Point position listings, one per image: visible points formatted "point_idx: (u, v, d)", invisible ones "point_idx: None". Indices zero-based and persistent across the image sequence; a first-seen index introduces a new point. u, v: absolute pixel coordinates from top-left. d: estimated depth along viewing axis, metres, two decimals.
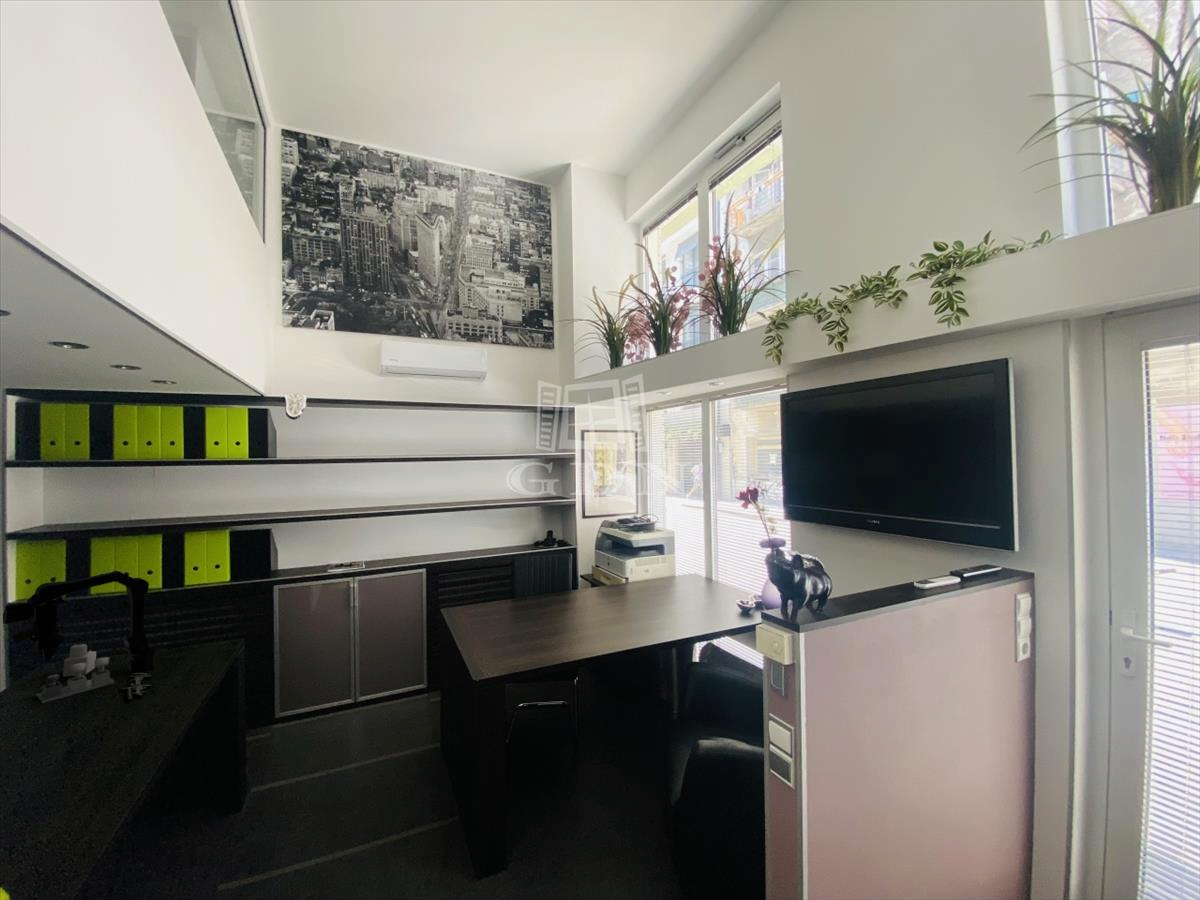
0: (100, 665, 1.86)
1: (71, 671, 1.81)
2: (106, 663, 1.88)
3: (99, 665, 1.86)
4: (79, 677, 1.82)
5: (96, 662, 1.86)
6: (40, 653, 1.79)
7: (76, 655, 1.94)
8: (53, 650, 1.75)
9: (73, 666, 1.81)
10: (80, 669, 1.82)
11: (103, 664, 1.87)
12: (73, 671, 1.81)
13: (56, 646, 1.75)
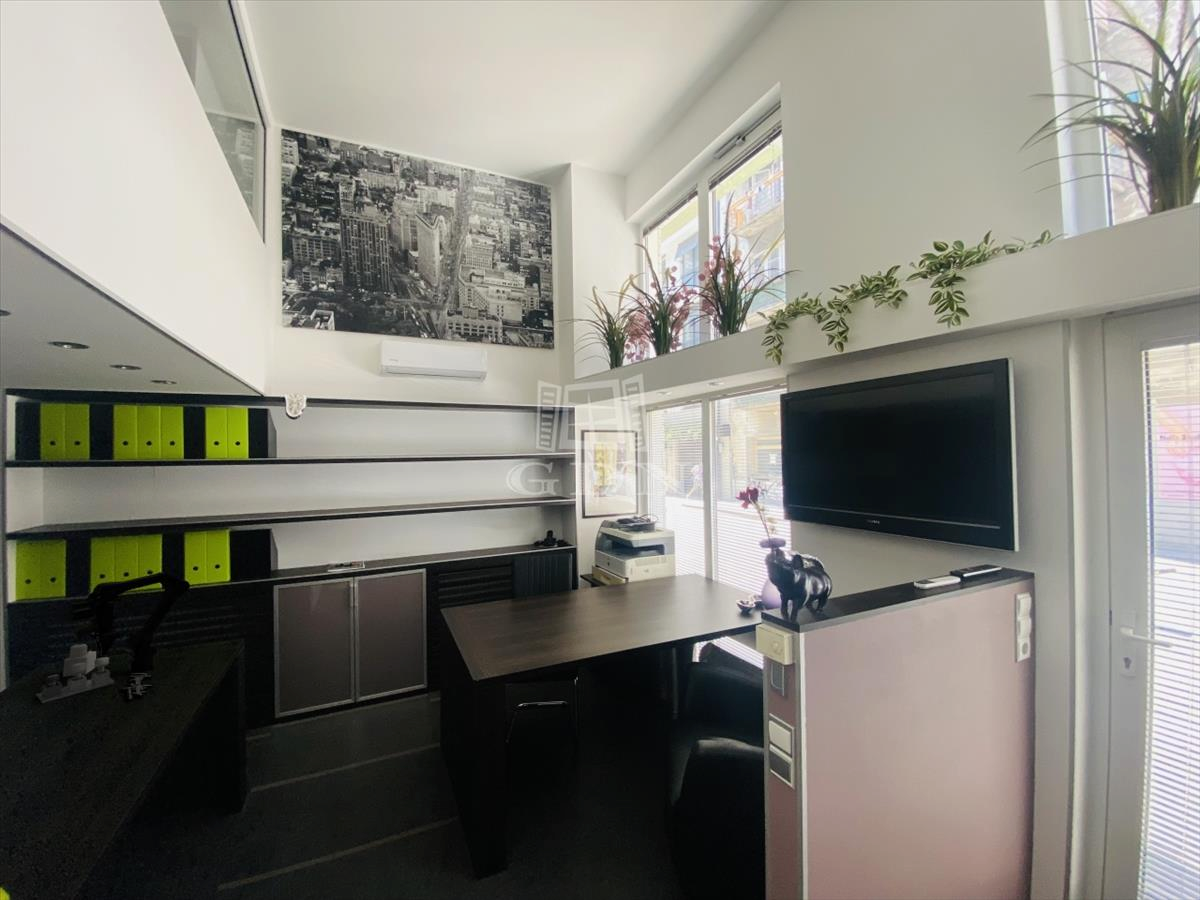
0: (100, 665, 1.86)
1: (71, 671, 1.81)
2: (106, 663, 1.88)
3: (99, 665, 1.86)
4: (79, 677, 1.82)
5: (96, 662, 1.86)
6: (99, 650, 1.89)
7: (76, 655, 1.94)
8: (109, 644, 1.87)
9: (73, 666, 1.81)
10: (80, 669, 1.82)
11: (103, 664, 1.87)
12: (73, 671, 1.81)
13: (112, 641, 1.88)
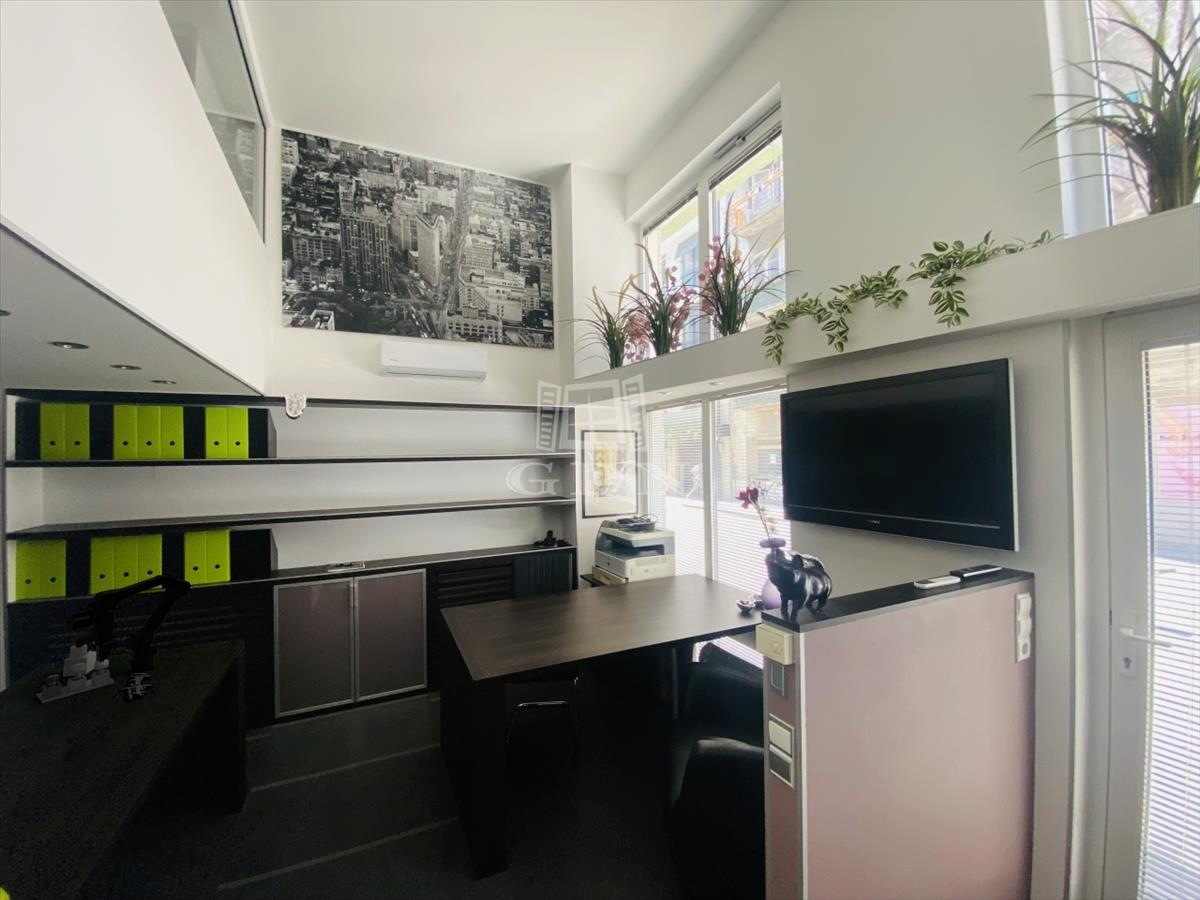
0: (100, 667, 1.86)
1: (71, 671, 1.81)
2: (106, 665, 1.88)
3: (99, 667, 1.86)
4: (79, 677, 1.82)
5: (96, 664, 1.86)
6: None
7: (76, 655, 1.94)
8: (107, 652, 1.89)
9: (73, 666, 1.81)
10: (80, 669, 1.82)
11: (103, 666, 1.87)
12: (73, 671, 1.81)
13: None
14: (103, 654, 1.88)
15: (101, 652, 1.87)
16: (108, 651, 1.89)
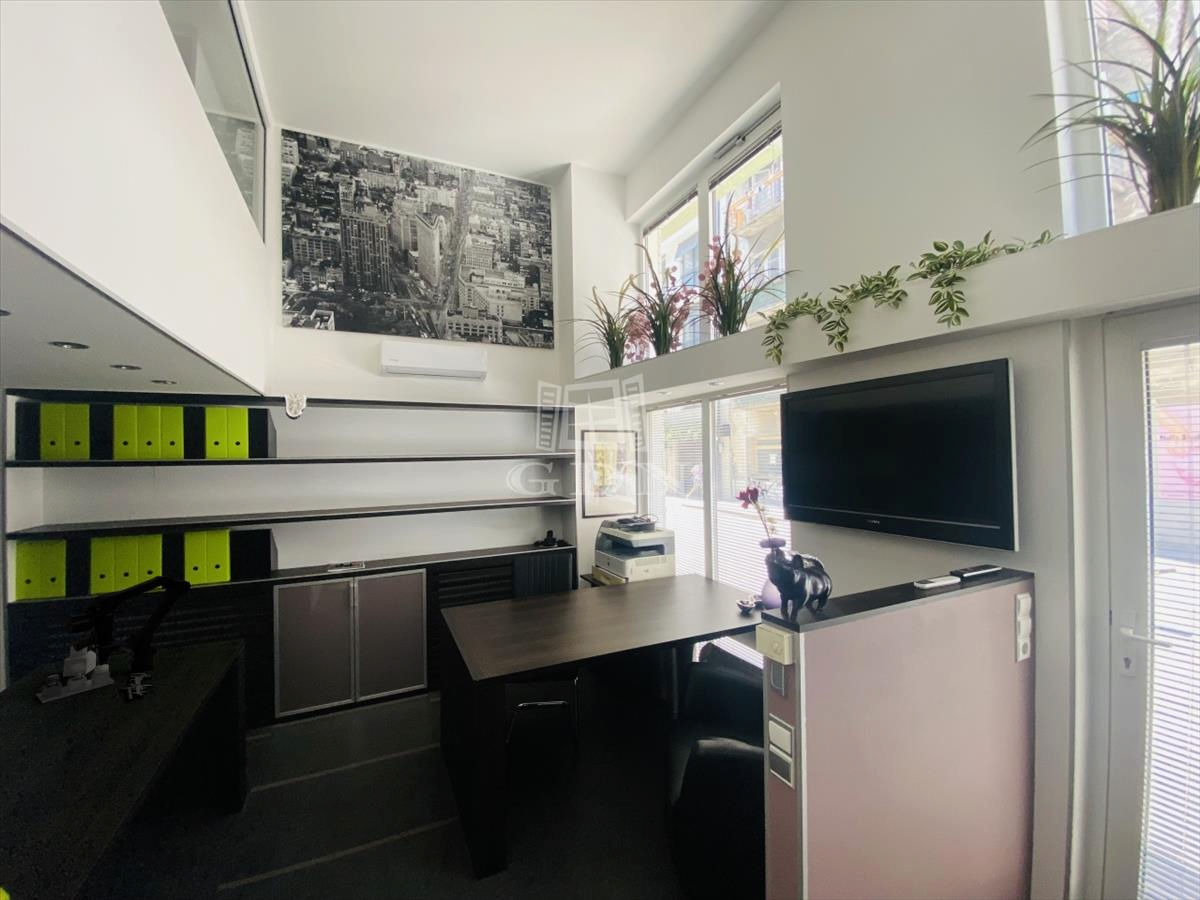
0: (100, 672, 1.86)
1: (71, 671, 1.81)
2: (106, 670, 1.88)
3: (99, 672, 1.86)
4: (79, 677, 1.82)
5: (96, 669, 1.86)
6: None
7: (76, 655, 1.94)
8: (107, 655, 1.88)
9: (73, 666, 1.81)
10: (80, 669, 1.82)
11: (103, 671, 1.87)
12: (73, 671, 1.81)
13: (110, 651, 1.89)
14: (102, 657, 1.87)
15: (101, 655, 1.87)
16: (108, 654, 1.89)
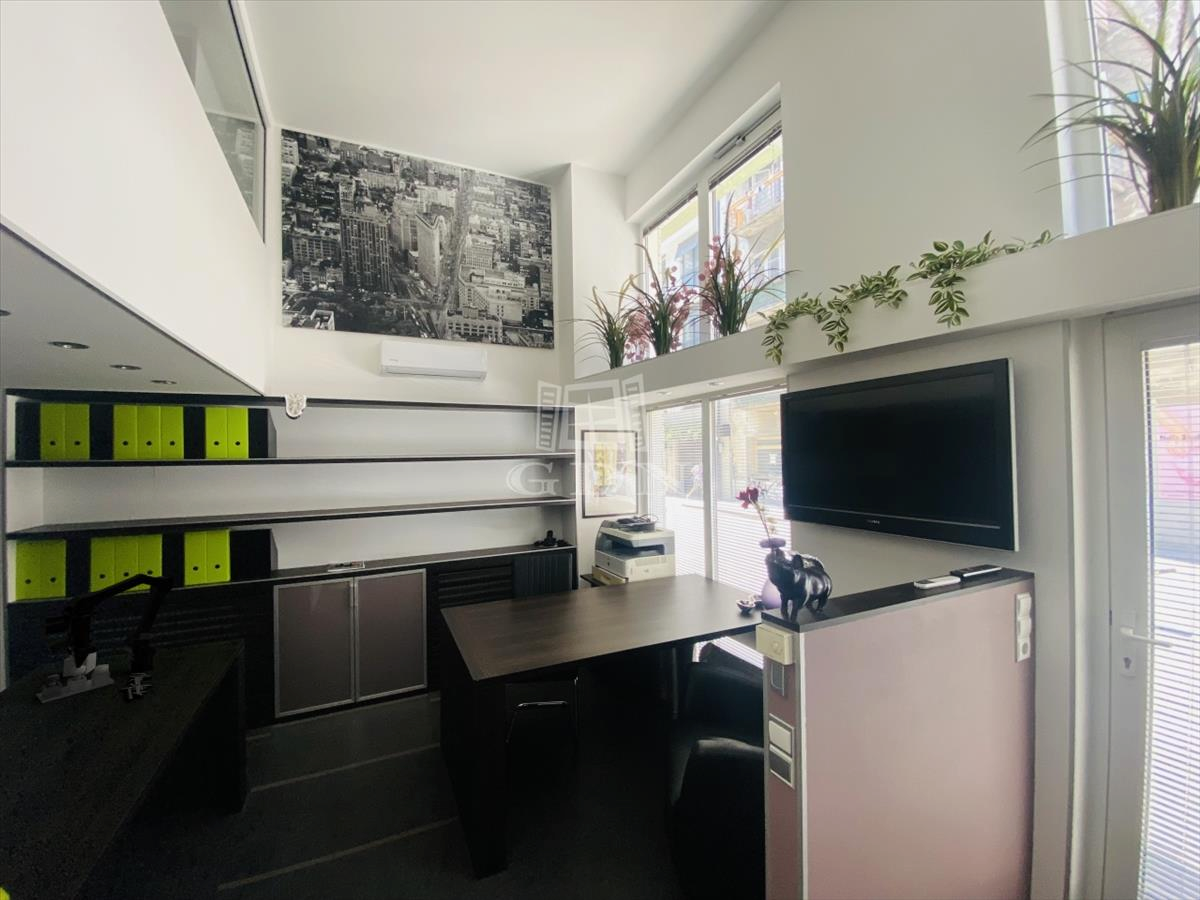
0: (100, 672, 1.86)
1: (71, 674, 1.81)
2: (106, 670, 1.88)
3: (99, 672, 1.86)
4: None
5: (96, 669, 1.86)
6: None
7: None
8: (84, 657, 1.83)
9: (73, 669, 1.81)
10: (80, 672, 1.82)
11: (103, 671, 1.87)
12: (73, 674, 1.80)
13: (87, 653, 1.83)
14: (79, 660, 1.82)
15: (77, 658, 1.81)
16: (85, 657, 1.83)
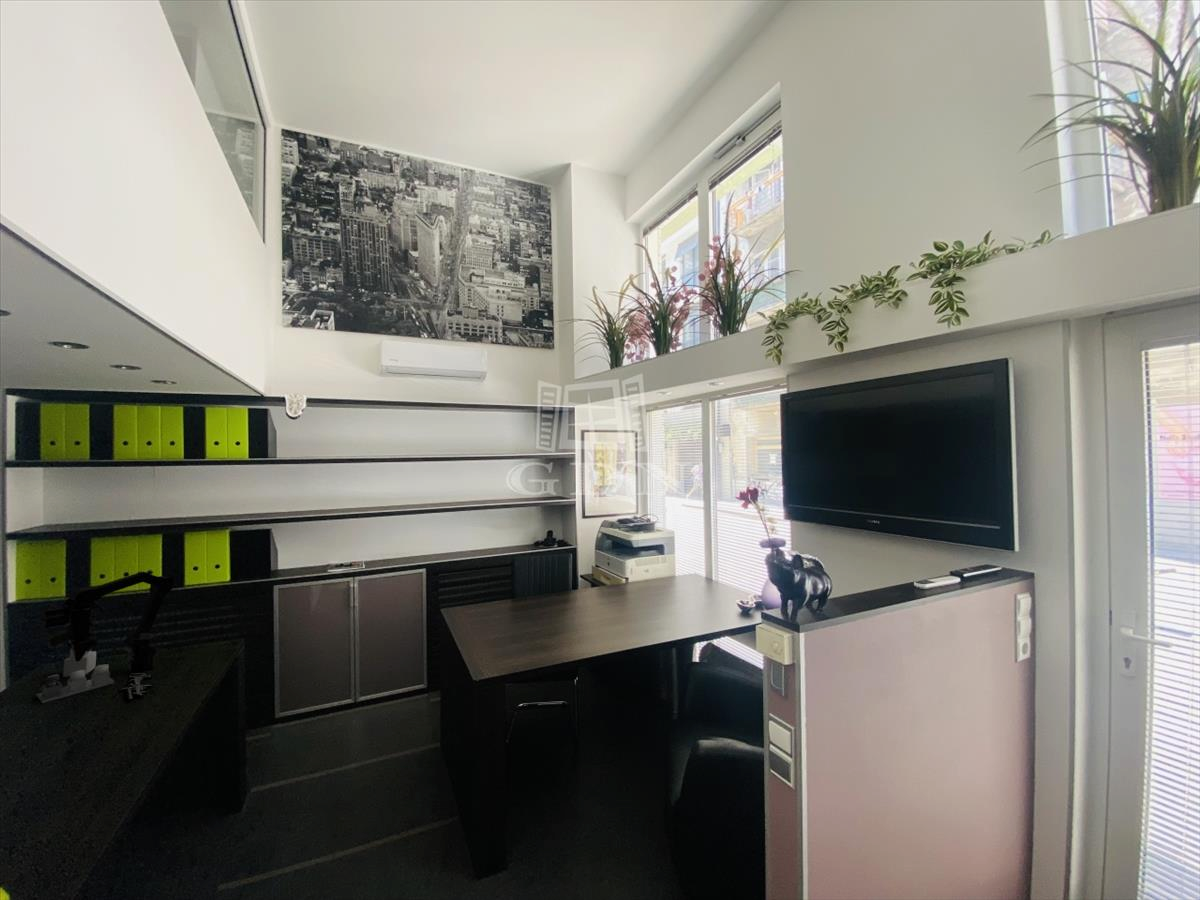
0: (100, 672, 1.86)
1: (71, 679, 1.80)
2: (106, 670, 1.88)
3: (99, 672, 1.86)
4: None
5: (96, 669, 1.86)
6: None
7: None
8: (84, 651, 1.83)
9: (73, 674, 1.81)
10: (80, 677, 1.82)
11: (103, 671, 1.87)
12: (72, 679, 1.80)
13: None
14: (79, 653, 1.82)
15: (77, 651, 1.81)
16: (84, 650, 1.83)
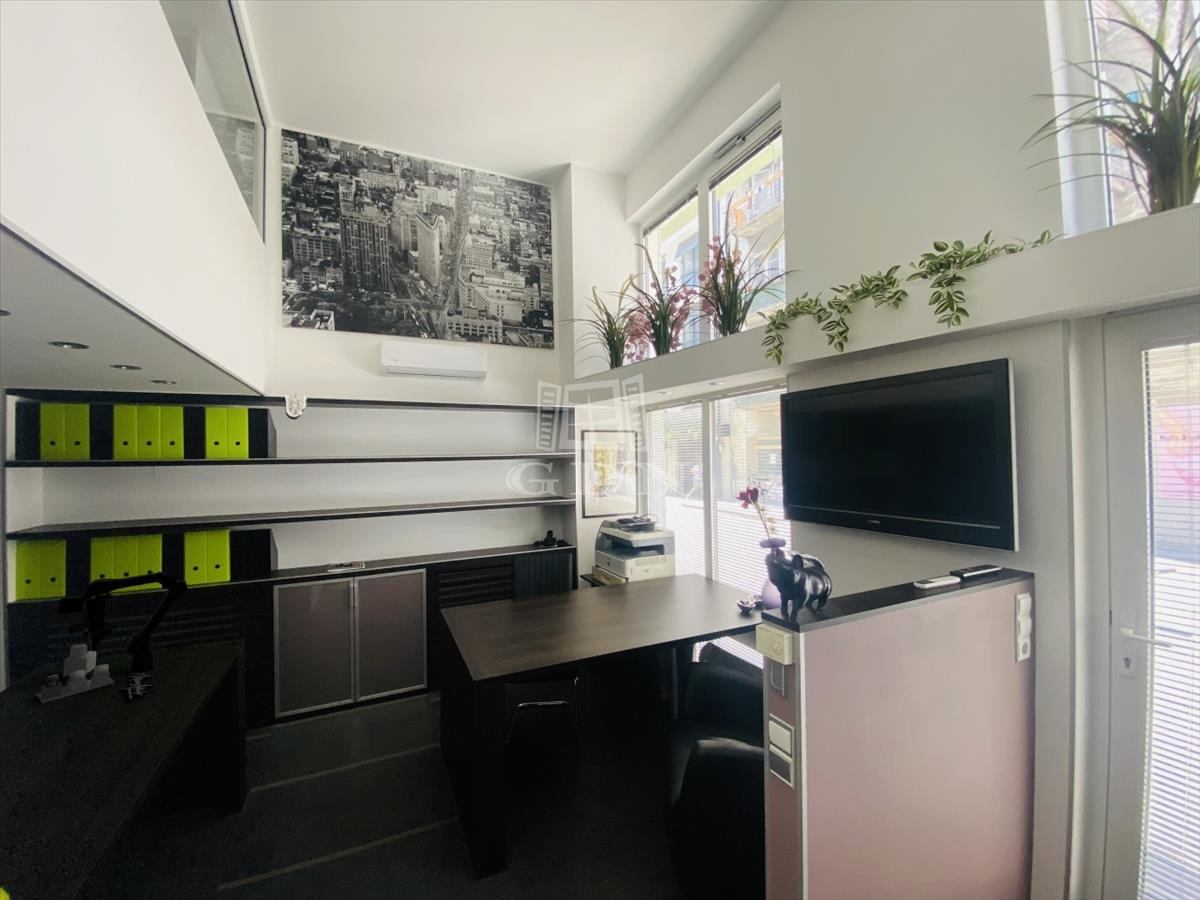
0: (100, 672, 1.86)
1: (71, 679, 1.80)
2: (106, 670, 1.88)
3: (99, 672, 1.86)
4: None
5: (96, 669, 1.86)
6: None
7: (76, 655, 1.94)
8: (99, 639, 1.91)
9: (73, 674, 1.81)
10: (80, 677, 1.82)
11: (103, 671, 1.87)
12: (72, 679, 1.80)
13: (102, 635, 1.91)
14: (95, 641, 1.90)
15: (93, 639, 1.89)
16: (100, 638, 1.91)
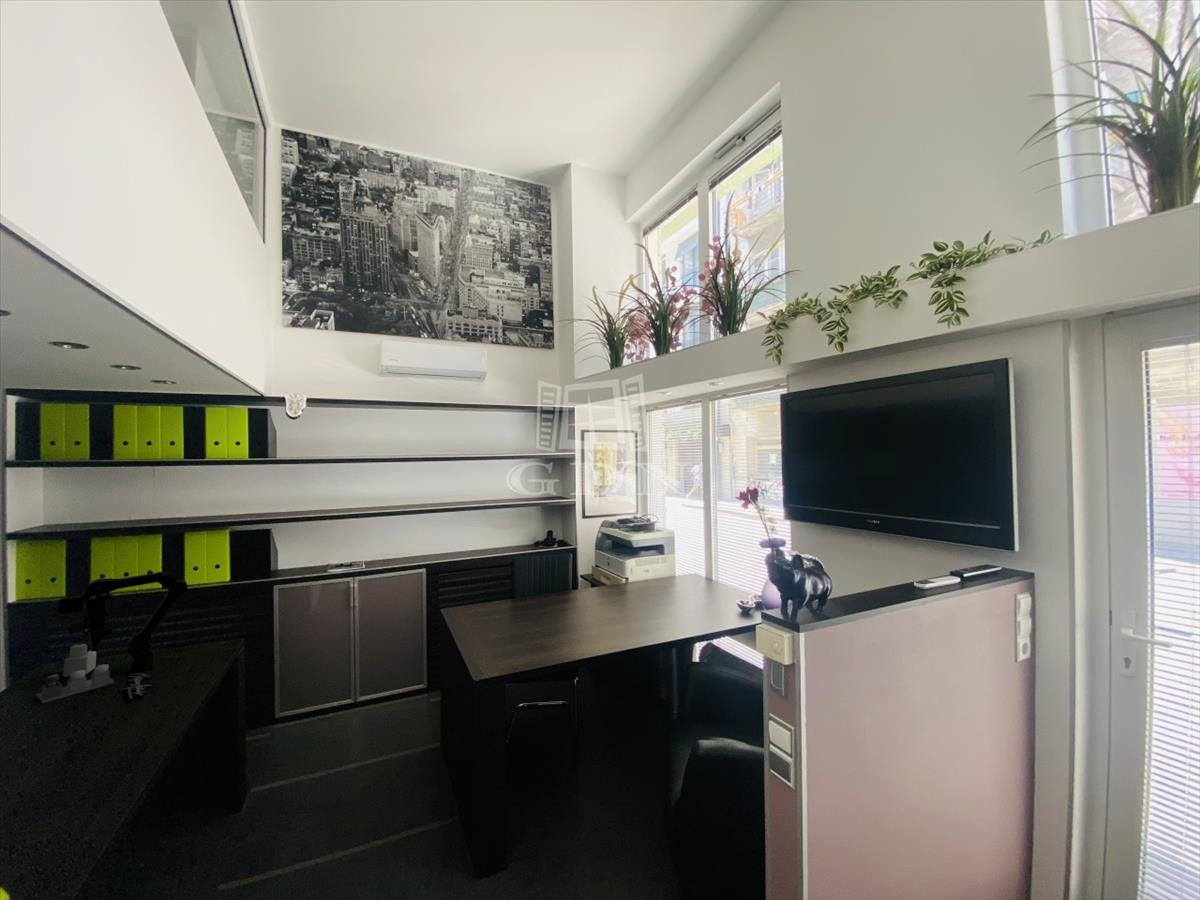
0: (100, 672, 1.86)
1: (71, 679, 1.80)
2: (106, 670, 1.88)
3: (99, 672, 1.86)
4: None
5: (96, 669, 1.86)
6: None
7: (76, 655, 1.94)
8: (99, 639, 1.91)
9: (73, 674, 1.81)
10: (80, 677, 1.82)
11: (103, 671, 1.87)
12: (72, 679, 1.80)
13: (102, 635, 1.91)
14: (95, 641, 1.90)
15: (93, 639, 1.89)
16: (100, 638, 1.91)
